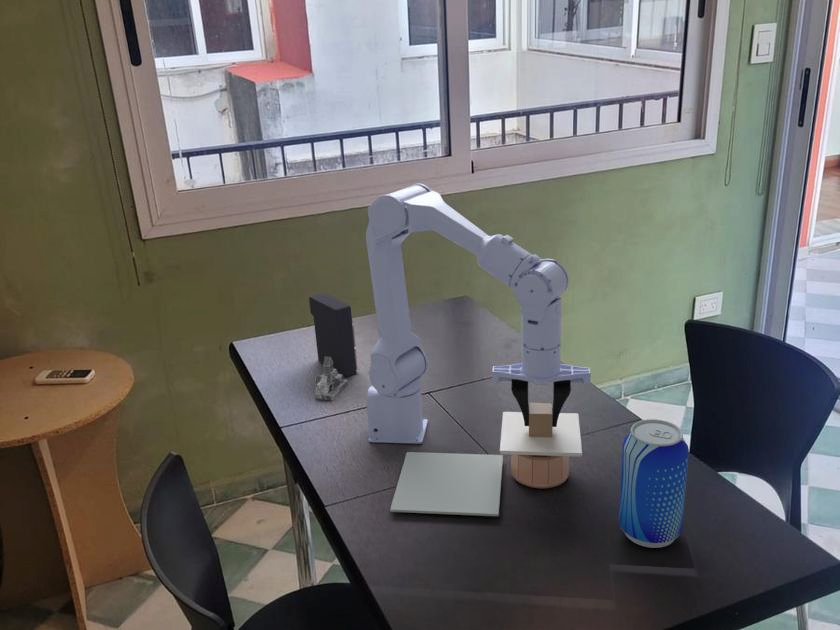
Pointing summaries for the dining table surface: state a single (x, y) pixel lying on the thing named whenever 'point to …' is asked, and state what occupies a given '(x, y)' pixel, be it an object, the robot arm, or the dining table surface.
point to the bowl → (540, 470)
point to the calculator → (334, 332)
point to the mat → (449, 484)
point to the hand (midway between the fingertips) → (540, 423)
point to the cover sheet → (541, 445)
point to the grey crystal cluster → (329, 382)
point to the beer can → (653, 483)
